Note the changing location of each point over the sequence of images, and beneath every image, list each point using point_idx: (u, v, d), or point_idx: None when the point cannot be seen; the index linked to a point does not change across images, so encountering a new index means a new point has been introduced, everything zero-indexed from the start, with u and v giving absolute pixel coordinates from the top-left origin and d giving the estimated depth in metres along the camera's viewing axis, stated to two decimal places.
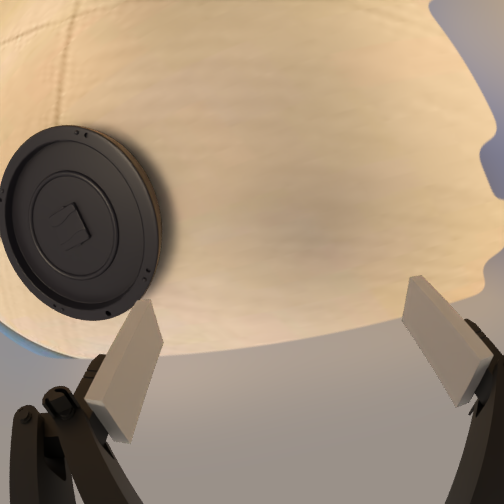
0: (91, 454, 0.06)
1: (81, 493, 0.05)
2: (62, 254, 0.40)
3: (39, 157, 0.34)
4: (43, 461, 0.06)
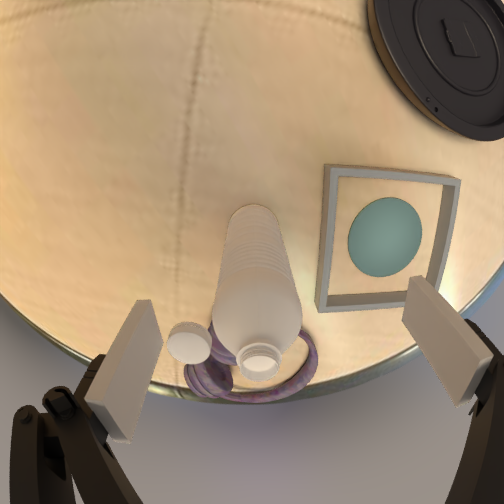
0: (91, 454, 0.06)
1: (81, 493, 0.05)
2: (482, 65, 0.26)
3: None
4: (43, 462, 0.06)
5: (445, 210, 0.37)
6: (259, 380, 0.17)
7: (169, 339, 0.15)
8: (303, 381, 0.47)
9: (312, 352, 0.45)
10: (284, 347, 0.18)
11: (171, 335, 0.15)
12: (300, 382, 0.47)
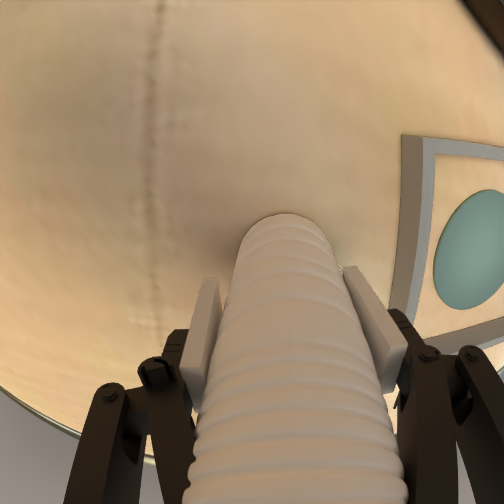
0: (179, 429, 0.07)
1: (158, 467, 0.06)
2: None
3: None
4: (119, 445, 0.07)
5: None
6: None
7: None
8: None
9: None
10: None
11: None
12: None
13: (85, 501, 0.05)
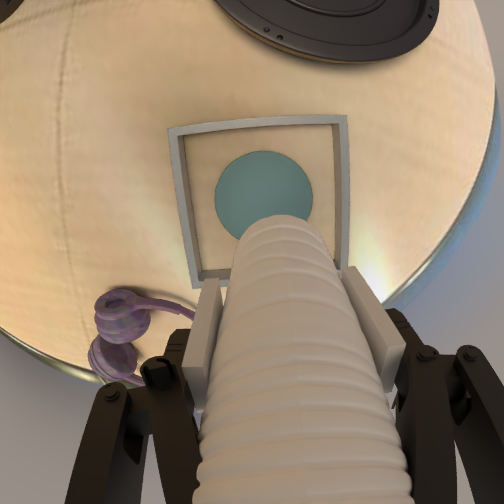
0: (182, 429, 0.07)
1: (160, 466, 0.06)
2: None
3: None
4: (121, 445, 0.07)
5: (336, 157, 0.33)
6: None
7: None
8: None
9: None
10: None
11: None
12: None
13: (87, 501, 0.05)
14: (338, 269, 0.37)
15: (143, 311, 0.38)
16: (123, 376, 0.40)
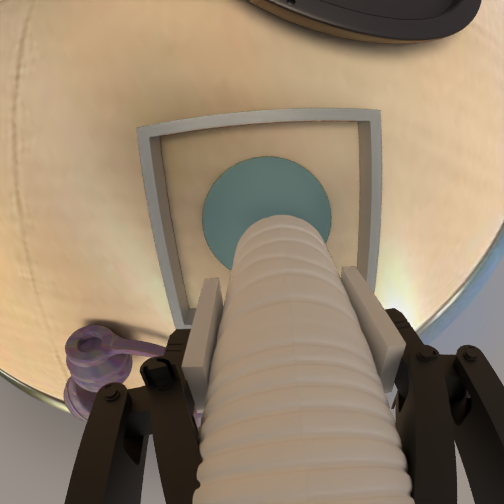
0: (182, 429, 0.07)
1: (160, 466, 0.06)
2: None
3: None
4: (121, 445, 0.07)
5: (365, 165, 0.25)
6: None
7: None
8: None
9: None
10: None
11: None
12: (201, 416, 0.36)
13: (87, 501, 0.05)
14: None
15: (123, 355, 0.30)
16: None
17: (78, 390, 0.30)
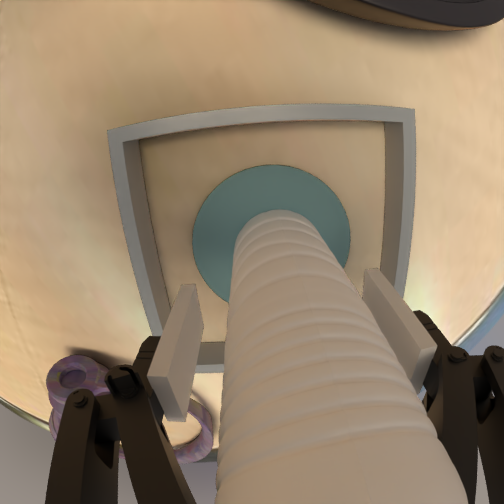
0: (149, 436, 0.07)
1: (131, 474, 0.06)
2: None
3: None
4: (92, 449, 0.07)
5: (393, 177, 0.19)
6: None
7: None
8: (201, 451, 0.30)
9: (200, 422, 0.28)
10: None
11: None
12: (198, 451, 0.30)
13: None
14: None
15: None
16: None
17: None
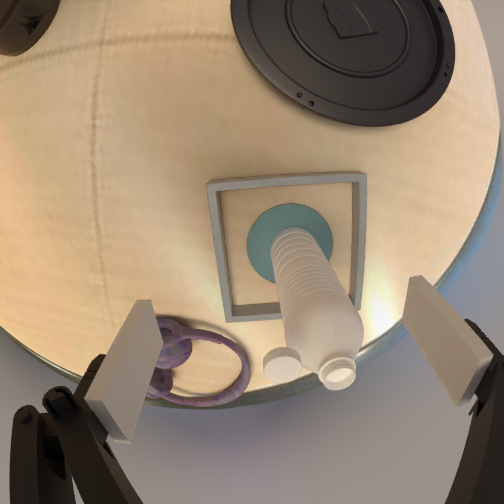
0: (91, 454, 0.06)
1: (81, 493, 0.05)
2: (383, 40, 0.28)
3: (263, 38, 0.29)
4: (43, 462, 0.06)
5: (355, 209, 0.38)
6: (338, 389, 0.19)
7: (267, 364, 0.18)
8: (239, 389, 0.49)
9: (243, 361, 0.46)
10: (354, 358, 0.20)
11: (269, 360, 0.18)
12: (237, 390, 0.49)
13: None
14: None
15: (188, 340, 0.43)
16: (162, 395, 0.44)
17: None
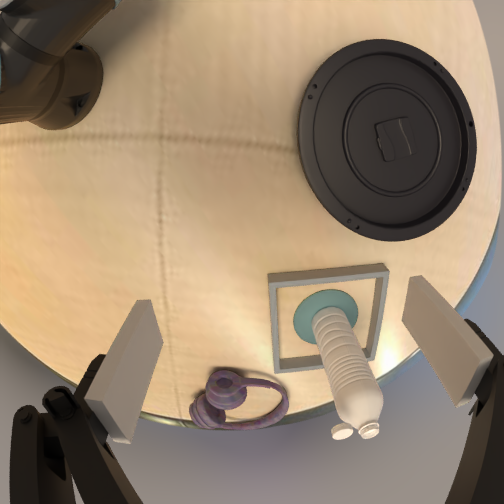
0: (91, 454, 0.06)
1: (81, 493, 0.05)
2: (418, 160, 0.38)
3: (322, 162, 0.39)
4: (43, 462, 0.06)
5: (377, 293, 0.49)
6: (368, 437, 0.30)
7: (335, 433, 0.28)
8: (279, 416, 0.60)
9: (284, 398, 0.57)
10: (377, 419, 0.31)
11: (337, 431, 0.28)
12: (277, 417, 0.60)
13: None
14: (369, 357, 0.53)
15: (245, 387, 0.54)
16: (220, 426, 0.55)
17: (206, 409, 0.55)
